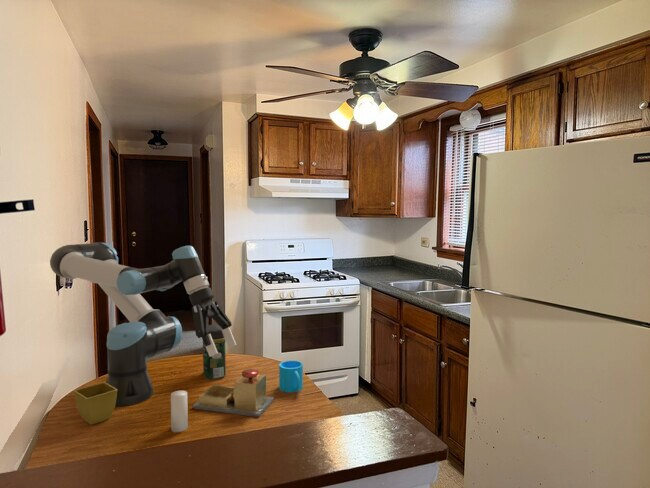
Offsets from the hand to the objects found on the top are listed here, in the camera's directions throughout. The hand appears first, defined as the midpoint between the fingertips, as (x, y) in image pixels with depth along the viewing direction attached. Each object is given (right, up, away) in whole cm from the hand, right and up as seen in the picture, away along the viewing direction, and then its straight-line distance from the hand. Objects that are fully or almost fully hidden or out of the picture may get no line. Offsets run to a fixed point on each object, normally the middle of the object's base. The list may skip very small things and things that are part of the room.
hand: (223, 350), depth 142 cm
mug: (+22, -16, +8) cm, 28 cm away
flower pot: (-34, -17, -15) cm, 40 cm away
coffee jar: (-8, -14, +20) cm, 26 cm away
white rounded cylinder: (-8, -17, -19) cm, 27 cm away
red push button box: (+4, -16, -4) cm, 17 cm away
